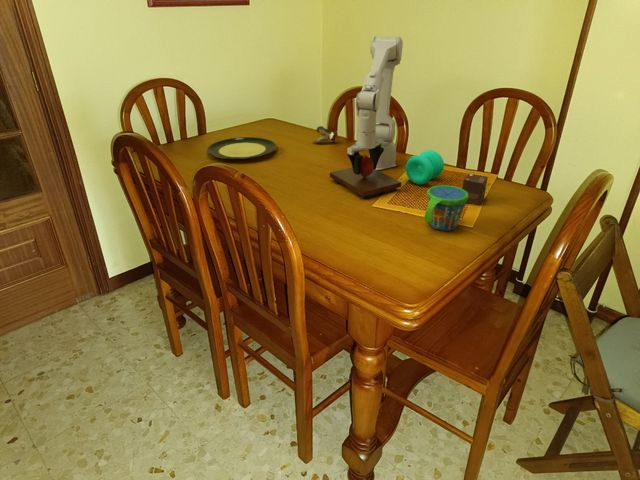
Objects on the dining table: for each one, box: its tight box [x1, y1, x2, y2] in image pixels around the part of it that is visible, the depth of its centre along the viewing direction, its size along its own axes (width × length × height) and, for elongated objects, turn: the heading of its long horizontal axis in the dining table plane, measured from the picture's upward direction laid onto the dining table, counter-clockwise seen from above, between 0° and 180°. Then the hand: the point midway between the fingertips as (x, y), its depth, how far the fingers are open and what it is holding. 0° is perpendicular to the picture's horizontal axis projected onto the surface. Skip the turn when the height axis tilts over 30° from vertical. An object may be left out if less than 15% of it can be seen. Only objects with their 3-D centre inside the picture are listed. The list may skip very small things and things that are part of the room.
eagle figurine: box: [313, 125, 338, 144], centre depth 192 cm, size 8×7×9 cm
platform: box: [329, 166, 402, 199], centre depth 151 cm, size 15×20×3 cm
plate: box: [206, 136, 278, 161], centre depth 182 cm, size 28×28×2 cm
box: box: [461, 173, 489, 206], centre depth 138 cm, size 6×6×7 cm
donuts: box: [405, 149, 445, 185], centre depth 152 cm, size 10×10×10 cm
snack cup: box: [423, 184, 469, 232], centre depth 123 cm, size 16×10×10 cm
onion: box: [360, 153, 374, 177], centre depth 148 cm, size 6×6×8 cm
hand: (364, 171), depth 149 cm, fingers open, 7 cm apart
